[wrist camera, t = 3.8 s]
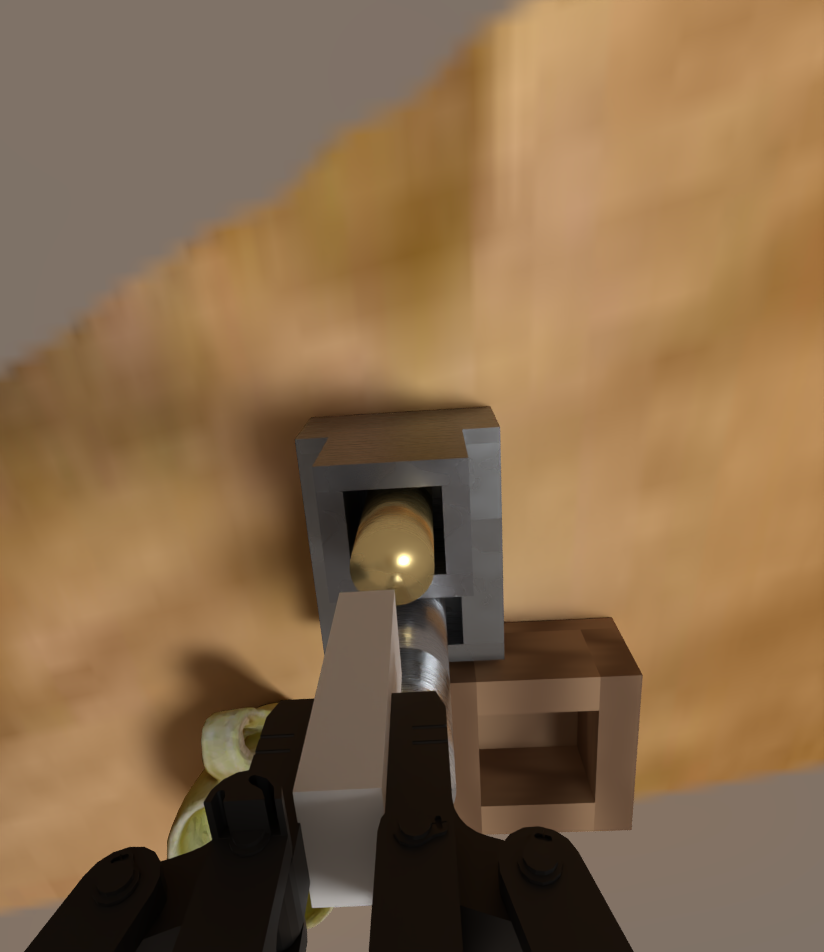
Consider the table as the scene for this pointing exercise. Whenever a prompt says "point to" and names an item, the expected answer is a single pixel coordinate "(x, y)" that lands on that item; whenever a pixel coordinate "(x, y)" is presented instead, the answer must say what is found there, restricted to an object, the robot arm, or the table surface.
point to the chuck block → (453, 497)
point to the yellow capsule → (395, 543)
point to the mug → (223, 755)
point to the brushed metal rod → (426, 656)
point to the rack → (548, 730)
